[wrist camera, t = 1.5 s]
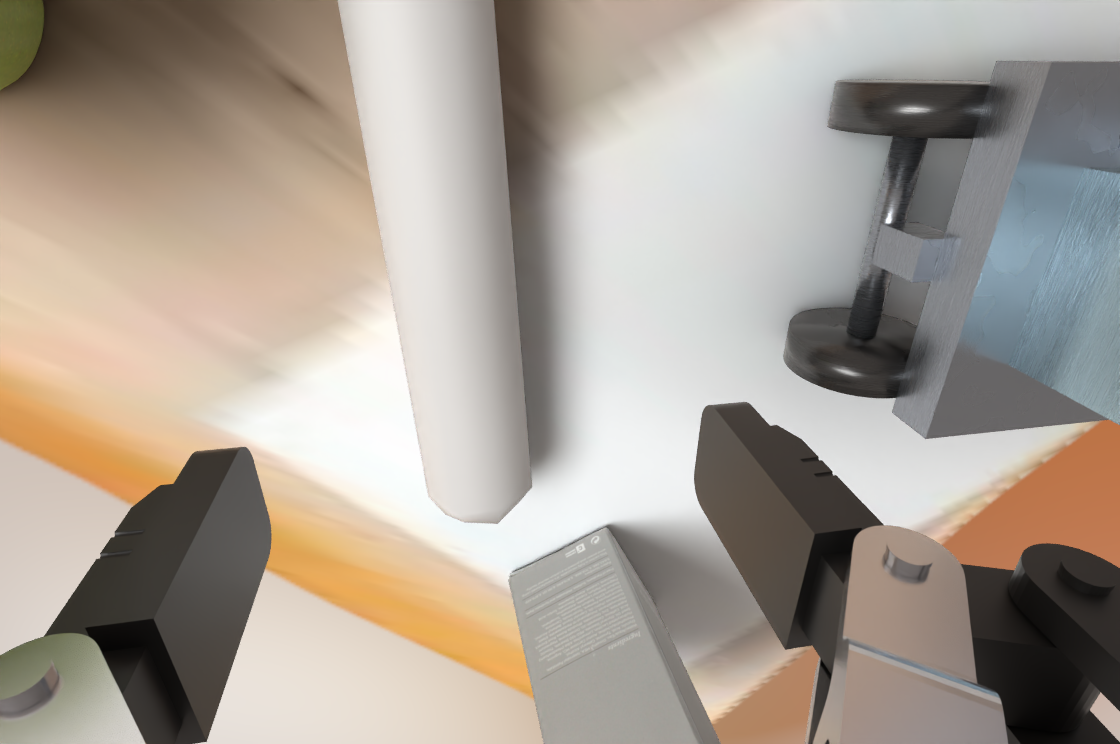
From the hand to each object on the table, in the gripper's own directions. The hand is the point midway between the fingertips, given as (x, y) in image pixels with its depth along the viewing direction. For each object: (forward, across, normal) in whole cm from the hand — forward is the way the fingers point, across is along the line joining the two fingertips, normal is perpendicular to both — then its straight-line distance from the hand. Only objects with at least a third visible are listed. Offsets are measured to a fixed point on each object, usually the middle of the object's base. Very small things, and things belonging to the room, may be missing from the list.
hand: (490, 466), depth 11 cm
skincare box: (+16, -6, +21) cm, 27 cm away
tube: (+16, 0, 0) cm, 16 cm away
